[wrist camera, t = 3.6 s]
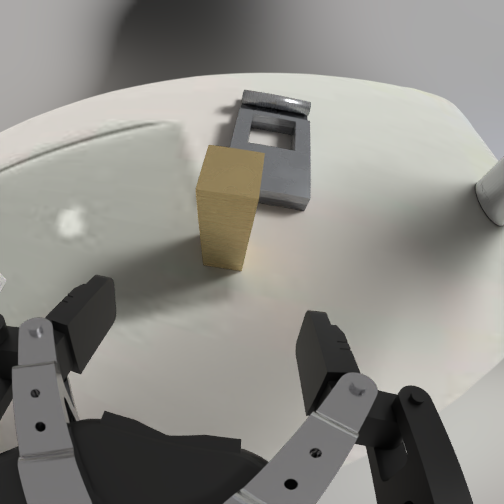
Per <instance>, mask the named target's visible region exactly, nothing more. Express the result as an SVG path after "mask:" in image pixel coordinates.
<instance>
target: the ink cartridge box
mask: <svg viewBox="0 0 504 504" xmlns="http://www.w3.org/2000/svg"><path fill="white" fill-rule="evenodd" d="M5 283H6V279H5V278H4V276H3V275H2V274H1V273H0V292H1V290H2V288H3V286H4V285H5Z"/></svg>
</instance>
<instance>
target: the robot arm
mask: <svg viewBox="0 0 504 504" xmlns="http://www.w3.org/2000/svg"><path fill="white" fill-rule="evenodd" d="M476 194H477V197H478V200H479V202H480V204H481V206H482V208H483V210H484V211H485V213H486V214H487V216H488V217H489V218H490V219H491V220H492V221H493V222H494V223H495V224H497V225H499V226H502V225H504V157H503V158H502V159H501V160H500V161H499V162H498V163H497V164H496V165H495V166H494V167H493V168H492V169H491V170H490V171H489V172H488V173H487V174H486V175H485V176H484V177H483V178H482V179H481V180H479V181H478V182H477V184H476ZM115 317H116V302H115V289H114V281H113V279H112V278H109V277H104V276H99V275H95V276H94V277H93V278H92V279H91V280H90V281H89V282H88V283H87V284H82V285H80V286H78V287H76V288H74V289H73V290H72V291H71V292H70V293H69V294H68V296H66V297H65V298H64V299H63V300H62V302H60V303H59V304H58V305H57V306H56V307H55V308H54V309H53V310H52V311H51V312H50V313H49V314H48V315H47V316H46V317H45V318H41V317H37V318H31V319H29V320H27V321H25V322H24V323H23V324H22V325H21V326H20V328H19V327H10V326H6V323H5V320H4V317H3V316H2V315H1V314H0V420H1V418H2V416H3V414H4V413H5V411H6V409H7V407H8V406H9V404H10V402H11V401H12V399H13V406H14V417H15V426H16V433H17V440H18V447H15V448H13V449H11V450H8V451H6V452H3V453H1V454H0V504H316V503H317V501H318V500H319V499H320V497H321V496H322V494H323V493H324V491H325V490H326V489H327V487H328V486H329V484H330V483H331V481H332V480H333V478H334V477H335V475H336V474H337V472H338V470H339V469H340V467H341V466H342V464H343V462H344V461H345V459H346V457H347V456H348V454H349V452H350V451H351V449H352V447H353V445H354V444H359V445H364V446H366V449H367V454H368V458H369V463H370V468H371V473H372V478H373V483H374V489H375V494H376V500H377V504H473V501H472V498H471V495H470V492H469V490H468V486H467V483H466V481H465V478H464V475H463V472H462V470H461V467H460V464H459V462H458V459H457V457H456V454H455V452H454V449H453V447H452V444H451V442H450V439H449V437H448V435H447V432H446V430H445V428H444V426H443V423H442V421H441V419H440V417H439V414H438V412H437V410H436V408H435V406H434V404H433V402H432V399H431V398H430V396H429V395H428V393H427V392H426V391H424V390H423V389H421V388H419V387H416V386H405V387H403V388H402V389H401V390H400V392H399V393H398V395H396V394H391V393H387V392H382V391H379V390H378V389H377V386H376V384H375V383H374V381H373V380H372V379H370V378H369V377H367V376H366V375H363V374H360V371H359V369H358V366H357V364H356V361H355V359H354V356H353V354H352V351H350V346H349V344H348V343H347V339H346V337H345V334H344V333H343V332H342V331H341V330H340V329H339V328H338V327H337V326H336V325H331V324H330V321H329V319H328V316H327V314H326V312H318V311H309V310H308V311H307V312H306V314H305V317H304V320H303V323H302V326H301V330H300V333H299V336H298V339H297V343H296V359H297V364H298V370H299V376H300V382H301V388H302V394H303V400H304V406H305V412H306V416H309V417H308V418H307V420H306V421H305V422H304V423H303V424H302V426H301V427H300V428H299V429H298V430H297V432H296V433H295V434H294V435H293V436H292V437H291V439H290V440H289V441H288V442H287V443H286V444H285V445H284V447H283V448H282V449H281V450H280V451H279V452H278V453H277V454H276V455H275V456H274V457H273V459H272V460H271V461H270V462H268V461H266V460H265V459H263V458H262V457H260V456H258V455H256V454H254V453H252V452H250V451H247V450H244V449H241V439H233V438H225V437H217V436H210V435H192V436H169V435H165V434H163V433H161V432H159V431H157V430H154V429H152V428H150V427H148V426H146V425H144V424H142V423H140V422H138V421H136V420H134V419H130V418H126V417H123V416H120V415H116V414H113V413H110V412H107V411H104V414H103V416H102V418H101V419H85V420H80V419H79V416H78V413H77V409H76V406H75V402H74V398H73V394H72V390H71V386H70V381H69V378H68V374H69V372H70V371H73V372H76V373H79V374H81V373H82V372H83V370H84V368H85V367H86V365H87V363H88V362H89V360H90V359H91V357H92V355H93V354H94V352H95V351H96V349H97V348H98V346H99V345H100V343H101V341H102V340H103V338H104V337H105V335H106V334H107V332H108V331H109V329H110V328H111V326H112V325H113V323H114V321H115ZM403 442H404V443H403ZM404 445H405V446H404ZM405 448H406V449H405ZM406 451H407V452H406Z"/></svg>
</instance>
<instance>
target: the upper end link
mask: <svg viewBox="0 0 504 504" xmlns="http://www.w3.org/2000/svg"><path fill="white" fill-rule="evenodd" d="M252 121H257V122H263V123H268V124H274V125H279V126H284V127H290V128H294V138H293V150H288V149H283V148H277V147H272V146H266V145H260V144H255V143H248V139H249V134H250V129H251V124H252ZM230 148H236V149H243V150H249V151H255V152H261V153H265V156H264V164H263V172H262V179H261V187H260V194H259V200H258V203H263V204H268V205H274V206H280V207H286V208H291V209H297V210H302V211H304V210H305V208H306V206H307V204H308V202H309V200H310V121H308V120H303V119H299V118H294V117H289V116H284V115H279V114H274V113H268V112H262V111H256V110H250V109H243V108H240V109H239V113H238V117H237V121H236V124H235V128H234V132H233V136H232V140H231V144H230Z"/></svg>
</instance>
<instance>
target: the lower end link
mask: <svg viewBox="0 0 504 504" xmlns="http://www.w3.org/2000/svg"><path fill="white" fill-rule="evenodd" d="M310 107H311V102H308V101H303V100H299V99H294V98H289V97H284V96H279V95H274V94H268V93H262V92H256V91H249V90H244V92H243V97H242V105H241V108H243V109H250V110H256V111H262V112H268V113H274V114H279V115H284V116H289V117H294V118H299V119H303V120H307V116H308V115H309V112H310ZM251 128H257V129H263V130H269V131H275V132H280V133H285V134H290V135H292V143H291V150H293V138H294V128H290V127H284V126H279V125H274V124H268V123H263V122H257V121H252V124H251ZM250 130H251V129H250ZM249 135H250V134H249ZM248 140H249V139H248Z"/></svg>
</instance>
